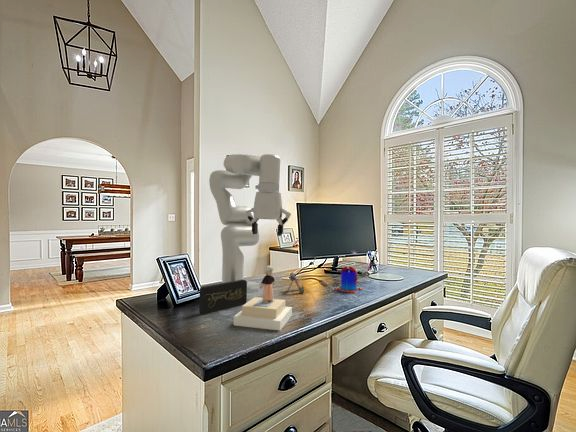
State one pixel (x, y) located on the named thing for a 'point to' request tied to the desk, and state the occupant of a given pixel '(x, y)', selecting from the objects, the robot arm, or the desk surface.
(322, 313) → the desk surface
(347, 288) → the fantasy tower
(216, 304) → the nameplate
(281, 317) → the plinth
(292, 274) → the portable electronic device stand
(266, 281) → the grandmother figurine
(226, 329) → the desk surface
